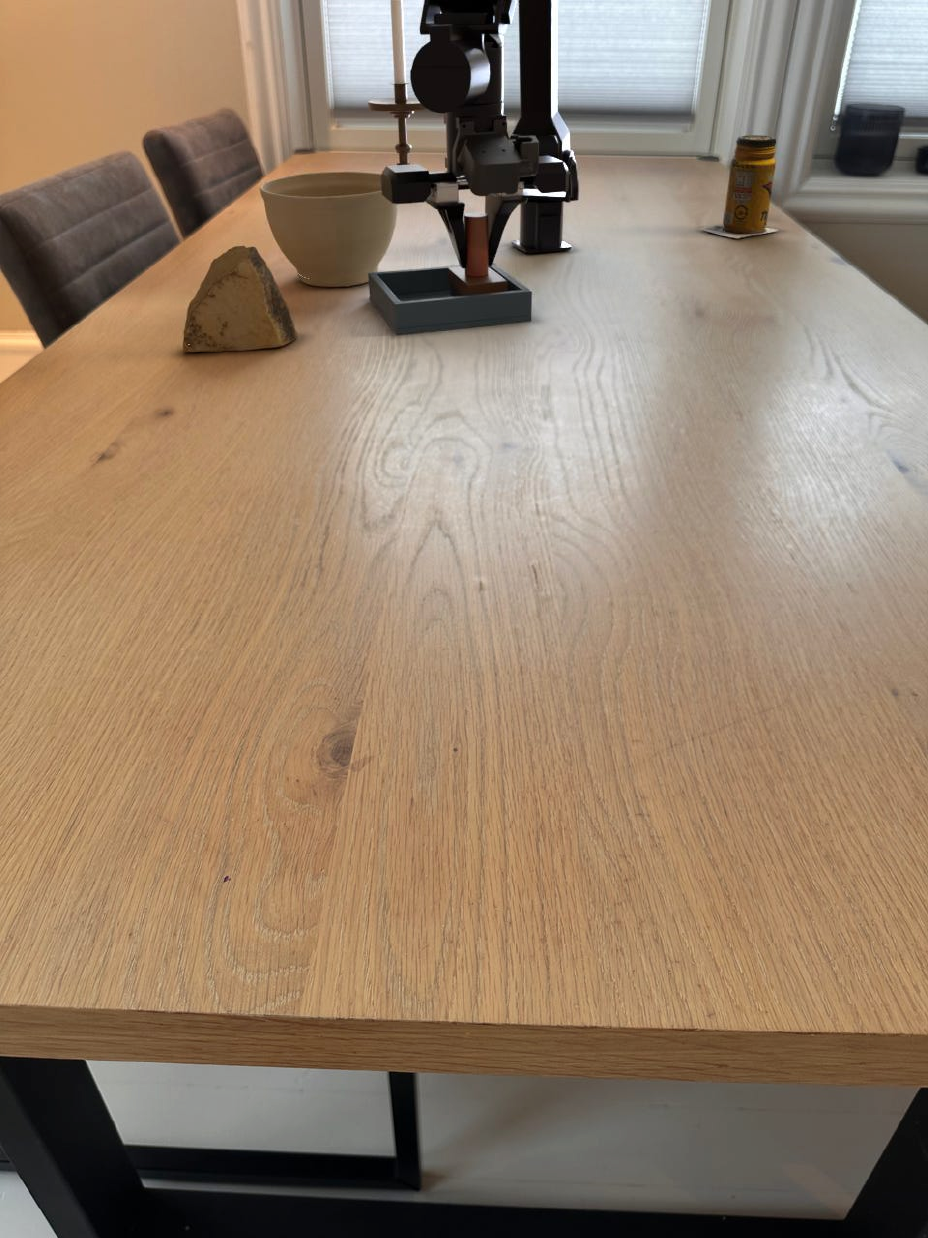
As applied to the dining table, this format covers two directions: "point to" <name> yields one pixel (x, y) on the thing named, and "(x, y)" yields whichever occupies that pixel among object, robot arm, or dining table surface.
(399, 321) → the tray
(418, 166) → the robot arm
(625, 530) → the dining table surface
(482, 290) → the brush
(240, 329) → the rock
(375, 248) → the planter bowl
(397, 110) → the candlestick
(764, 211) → the condiment
